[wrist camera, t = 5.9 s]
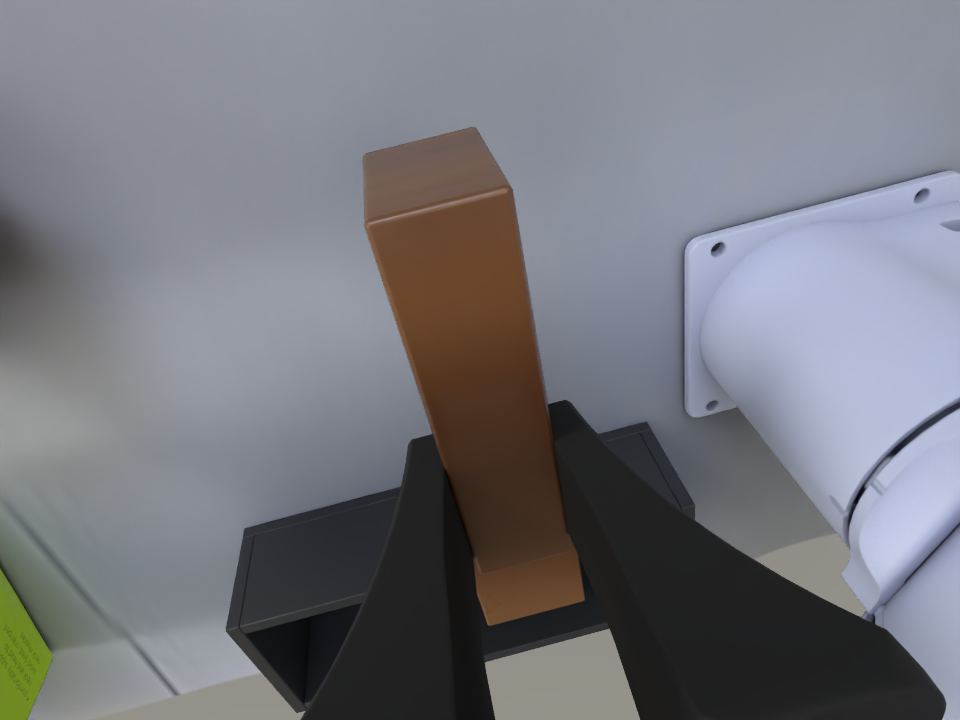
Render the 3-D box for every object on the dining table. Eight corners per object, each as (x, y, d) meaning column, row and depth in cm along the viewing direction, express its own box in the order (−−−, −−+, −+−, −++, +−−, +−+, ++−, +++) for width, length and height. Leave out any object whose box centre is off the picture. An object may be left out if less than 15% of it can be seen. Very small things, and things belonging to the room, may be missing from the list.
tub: (646, 421, 25) (695, 505, 21) (651, 521, 29) (693, 606, 25) (244, 528, 25) (224, 631, 21) (304, 614, 29) (296, 713, 25)
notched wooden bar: (579, 583, 19) (613, 681, 16) (484, 608, 19) (504, 711, 16) (504, 117, 10) (550, 176, 8) (331, 159, 10) (324, 232, 8)
